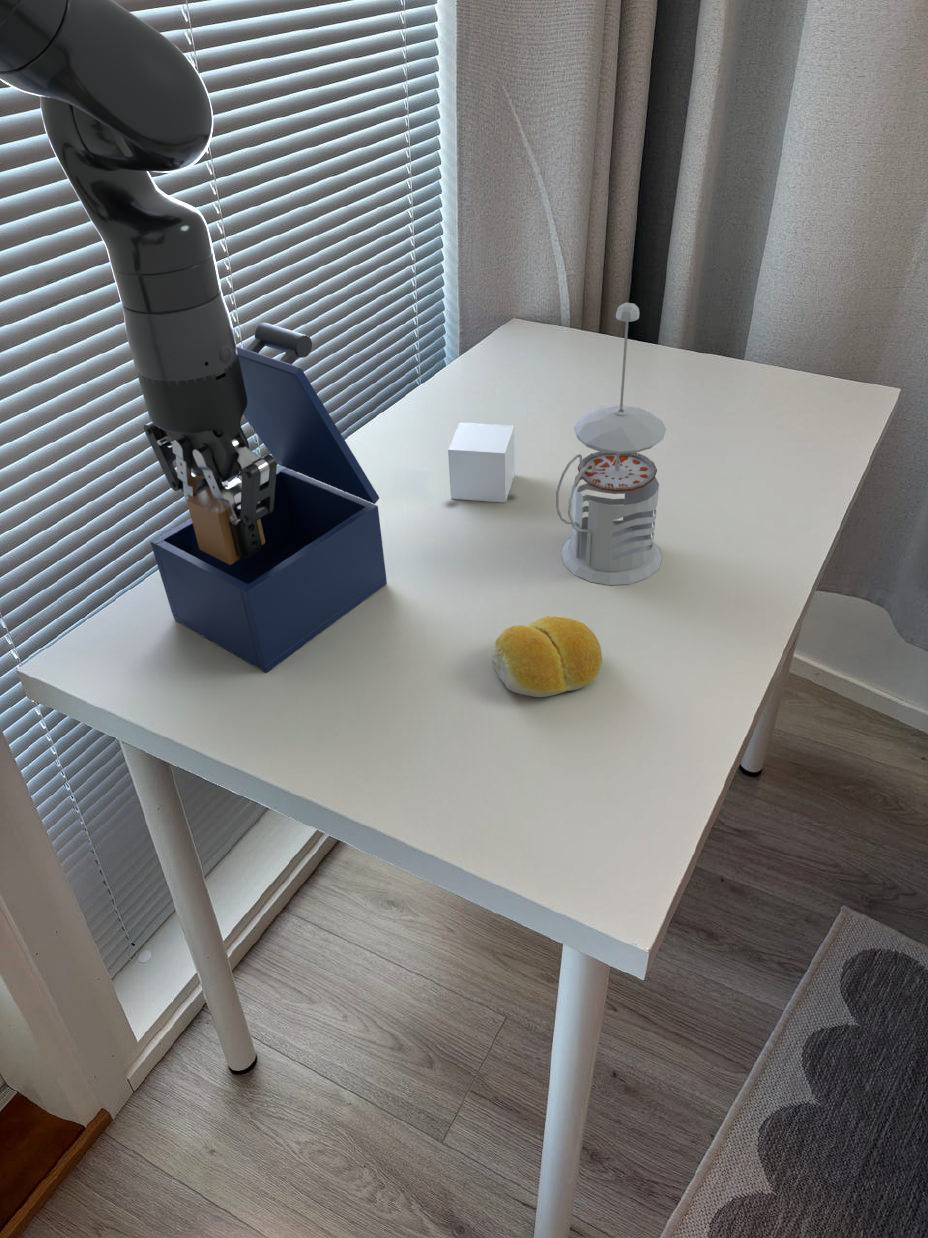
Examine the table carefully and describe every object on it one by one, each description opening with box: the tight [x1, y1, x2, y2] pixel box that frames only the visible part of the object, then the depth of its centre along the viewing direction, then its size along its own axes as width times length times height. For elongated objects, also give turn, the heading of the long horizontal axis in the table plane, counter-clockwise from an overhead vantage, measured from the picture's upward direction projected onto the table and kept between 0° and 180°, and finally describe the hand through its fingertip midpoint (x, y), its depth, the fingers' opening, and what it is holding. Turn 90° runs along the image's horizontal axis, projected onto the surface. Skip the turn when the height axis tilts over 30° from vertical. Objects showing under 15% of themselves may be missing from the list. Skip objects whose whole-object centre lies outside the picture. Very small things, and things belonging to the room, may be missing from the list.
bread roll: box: [491, 615, 603, 698], centre depth 79 cm, size 8×9×4 cm
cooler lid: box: [237, 322, 380, 505], centre depth 82 cm, size 16×13×5 cm
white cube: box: [447, 421, 516, 504], centre depth 102 cm, size 6×6×6 cm
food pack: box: [186, 480, 265, 565], centre depth 80 cm, size 4×4×5 cm
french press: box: [555, 302, 667, 586], centre depth 85 cm, size 10×12×25 cm
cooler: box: [150, 465, 388, 674], centre depth 87 cm, size 16×13×9 cm
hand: (231, 544), depth 81 cm, fingers closed on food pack, 4 cm apart
